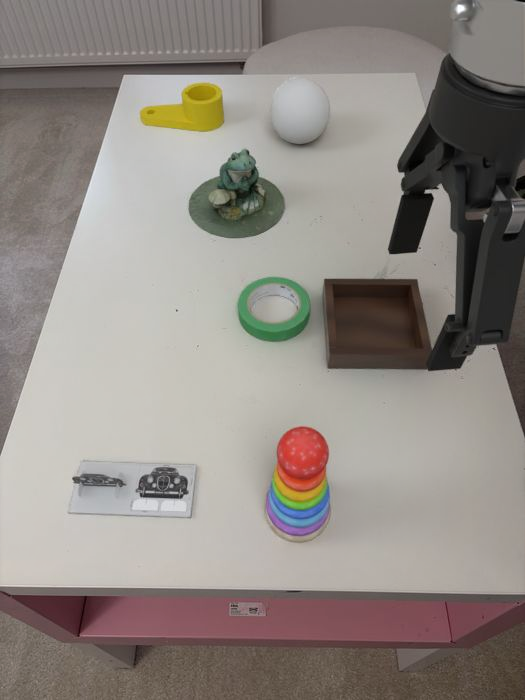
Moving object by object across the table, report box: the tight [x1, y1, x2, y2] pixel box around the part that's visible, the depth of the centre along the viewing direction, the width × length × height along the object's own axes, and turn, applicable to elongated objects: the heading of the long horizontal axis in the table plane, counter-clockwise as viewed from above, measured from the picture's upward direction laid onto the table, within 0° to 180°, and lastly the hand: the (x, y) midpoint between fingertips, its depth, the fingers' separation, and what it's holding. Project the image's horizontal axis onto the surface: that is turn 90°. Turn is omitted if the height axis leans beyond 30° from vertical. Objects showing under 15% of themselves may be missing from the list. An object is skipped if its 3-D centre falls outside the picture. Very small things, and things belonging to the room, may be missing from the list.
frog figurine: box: [188, 147, 286, 239], centre depth 92 cm, size 18×18×12 cm
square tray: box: [321, 278, 433, 370], centre depth 78 cm, size 14×14×4 cm
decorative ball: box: [269, 76, 331, 145], centre depth 103 cm, size 12×12×12 cm
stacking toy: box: [264, 425, 332, 544], centre depth 56 cm, size 8×8×19 cm
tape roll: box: [237, 276, 311, 342], centre depth 80 cm, size 11×11×3 cm
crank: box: [139, 82, 225, 132], centre depth 110 cm, size 18×8×6 cm, turn 87°
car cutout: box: [67, 460, 198, 519], centre depth 63 cm, size 15×7×4 cm, turn 88°
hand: (420, 304), depth 47 cm, fingers open, 13 cm apart
